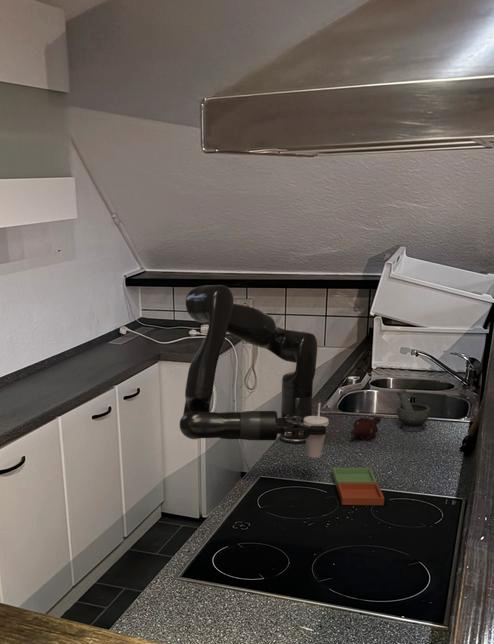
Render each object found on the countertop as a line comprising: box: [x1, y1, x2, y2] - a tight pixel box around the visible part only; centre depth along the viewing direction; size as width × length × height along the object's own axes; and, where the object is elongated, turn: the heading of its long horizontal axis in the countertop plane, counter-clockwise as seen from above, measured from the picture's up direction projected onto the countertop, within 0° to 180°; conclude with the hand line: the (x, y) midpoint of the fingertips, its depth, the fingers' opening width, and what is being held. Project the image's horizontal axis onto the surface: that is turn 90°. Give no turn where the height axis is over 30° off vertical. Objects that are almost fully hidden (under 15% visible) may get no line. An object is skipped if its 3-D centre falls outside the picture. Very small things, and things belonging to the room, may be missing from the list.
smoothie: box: [303, 402, 330, 459], centre depth 194 cm, size 6×6×14 cm
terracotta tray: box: [336, 482, 385, 506], centre depth 192 cm, size 10×10×2 cm
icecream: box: [350, 416, 382, 441], centre depth 234 cm, size 7×7×15 cm
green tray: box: [331, 467, 378, 489], centre depth 203 cm, size 10×10×2 cm
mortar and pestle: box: [396, 388, 431, 432], centre depth 242 cm, size 11×9×12 cm
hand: (324, 425), depth 193 cm, fingers closed on smoothie, 6 cm apart
